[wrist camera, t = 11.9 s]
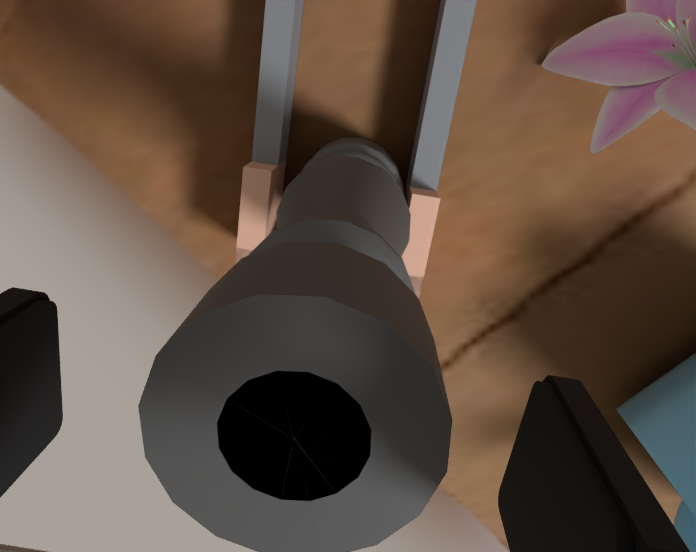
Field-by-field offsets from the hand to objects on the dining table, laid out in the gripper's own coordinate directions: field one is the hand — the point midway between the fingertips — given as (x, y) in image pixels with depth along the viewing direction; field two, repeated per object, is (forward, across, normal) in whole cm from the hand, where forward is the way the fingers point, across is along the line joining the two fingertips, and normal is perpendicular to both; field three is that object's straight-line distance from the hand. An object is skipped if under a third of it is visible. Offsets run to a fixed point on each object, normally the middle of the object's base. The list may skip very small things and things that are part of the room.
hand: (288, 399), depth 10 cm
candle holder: (+24, 0, +1) cm, 24 cm away
